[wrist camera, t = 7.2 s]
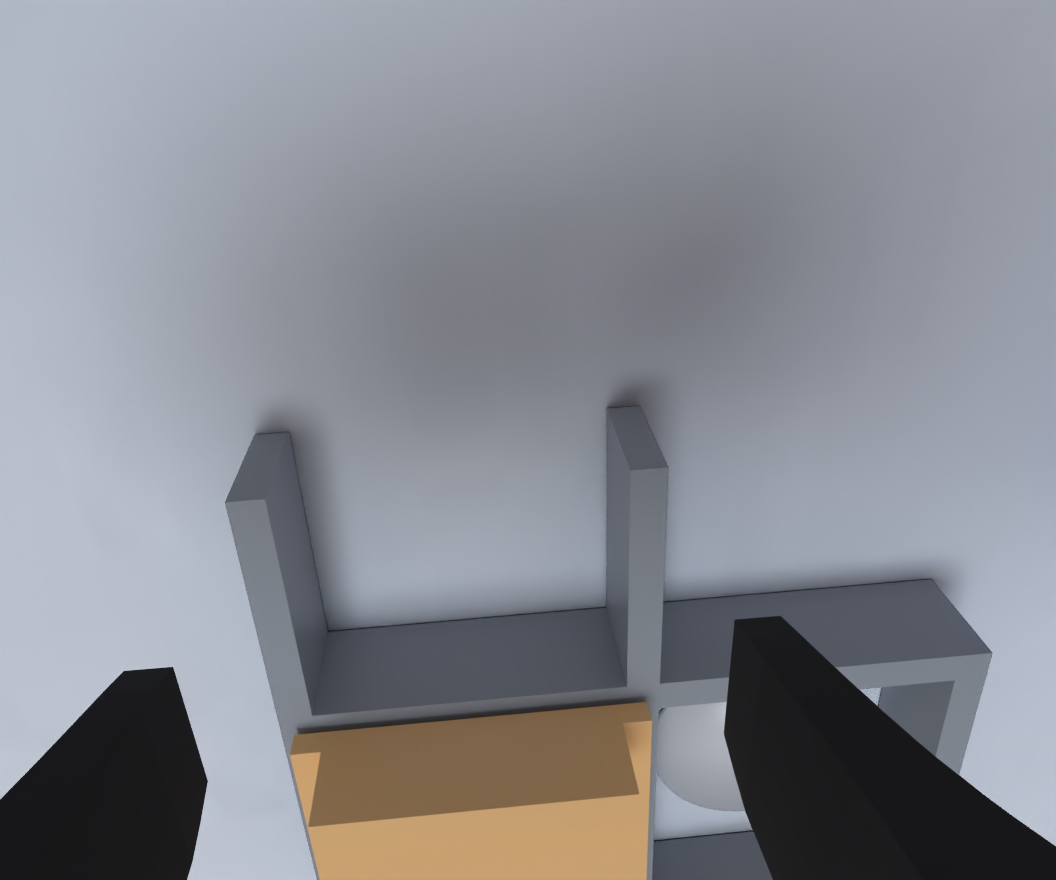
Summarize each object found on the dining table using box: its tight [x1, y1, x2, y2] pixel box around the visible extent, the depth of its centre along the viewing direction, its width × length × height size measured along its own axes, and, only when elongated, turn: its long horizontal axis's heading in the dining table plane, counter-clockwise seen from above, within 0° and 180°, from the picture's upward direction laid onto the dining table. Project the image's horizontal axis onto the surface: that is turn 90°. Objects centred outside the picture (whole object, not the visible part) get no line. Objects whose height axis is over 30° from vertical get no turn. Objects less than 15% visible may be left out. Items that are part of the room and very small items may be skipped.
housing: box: [225, 406, 992, 880], centre depth 23 cm, size 17×17×3 cm
